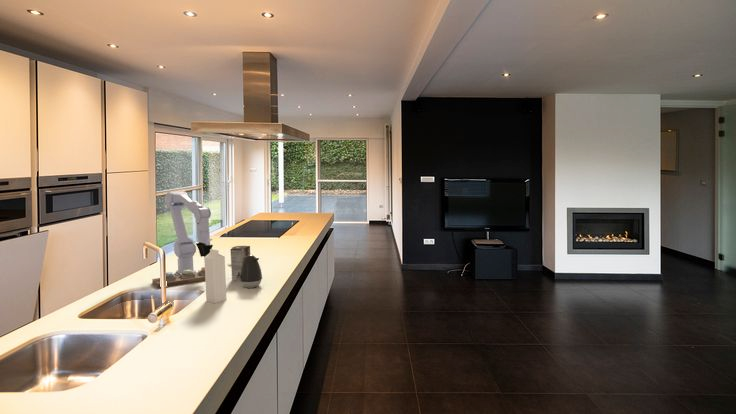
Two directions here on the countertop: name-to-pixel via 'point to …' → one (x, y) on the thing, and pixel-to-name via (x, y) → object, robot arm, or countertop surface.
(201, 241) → the robot arm
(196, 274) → the button panel
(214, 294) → the milk
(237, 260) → the coffee box
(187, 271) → the sage button
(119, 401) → the countertop surface
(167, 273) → the slate blue button
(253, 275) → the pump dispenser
